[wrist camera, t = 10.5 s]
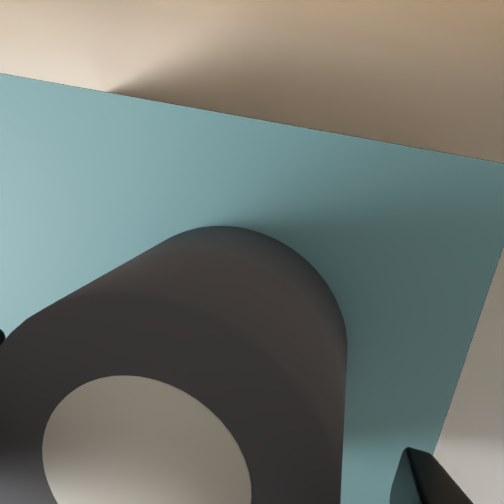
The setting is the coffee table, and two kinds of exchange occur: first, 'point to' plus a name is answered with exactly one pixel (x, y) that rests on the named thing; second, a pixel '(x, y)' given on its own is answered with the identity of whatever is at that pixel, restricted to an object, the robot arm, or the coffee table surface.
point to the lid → (271, 224)
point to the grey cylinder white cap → (180, 382)
